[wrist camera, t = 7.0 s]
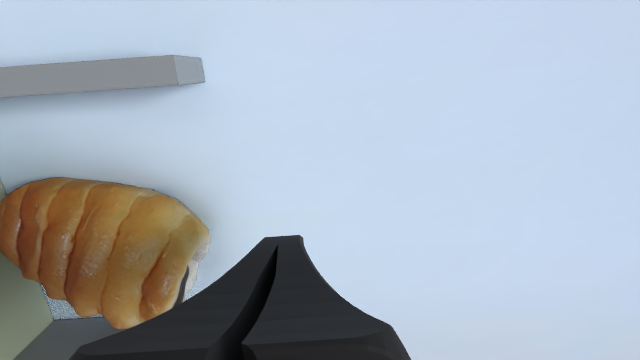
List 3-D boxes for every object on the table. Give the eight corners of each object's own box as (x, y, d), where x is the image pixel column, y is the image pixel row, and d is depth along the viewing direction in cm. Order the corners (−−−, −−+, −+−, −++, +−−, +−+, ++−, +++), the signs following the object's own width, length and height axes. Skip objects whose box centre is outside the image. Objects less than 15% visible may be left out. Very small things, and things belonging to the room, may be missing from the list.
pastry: (16, 257, 18) (-61, 305, 14) (32, 139, 16) (-52, 159, 12) (190, 309, 19) (161, 366, 15) (225, 205, 17) (200, 242, 13)
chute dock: (201, 57, 15) (167, 54, 11) (245, 323, 19) (230, 377, 16) (-74, 77, 15) (-188, 79, 11) (33, 336, 19) (-27, 393, 16)
